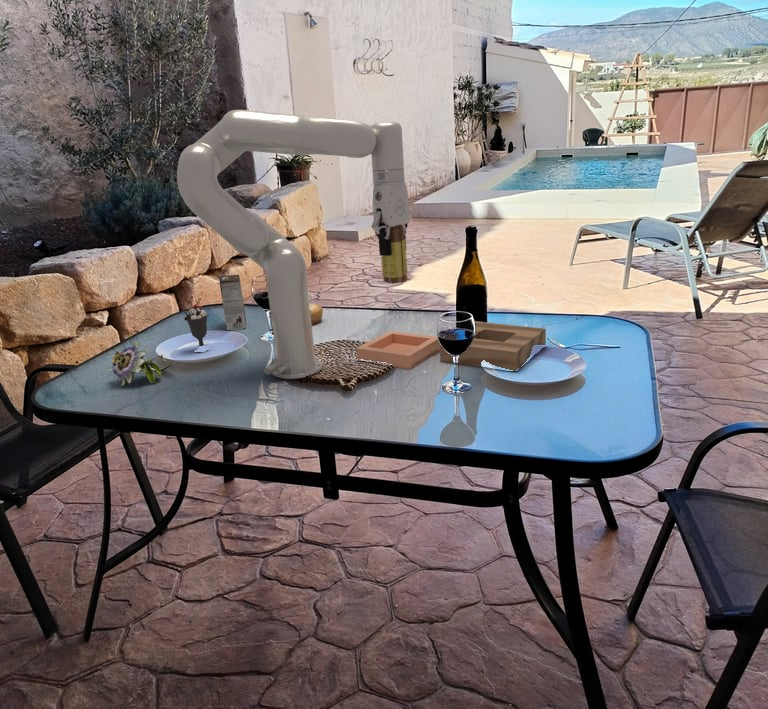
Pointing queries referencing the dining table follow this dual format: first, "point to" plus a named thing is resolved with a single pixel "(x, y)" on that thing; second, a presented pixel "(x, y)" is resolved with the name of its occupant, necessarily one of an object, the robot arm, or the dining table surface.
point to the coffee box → (232, 302)
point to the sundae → (197, 322)
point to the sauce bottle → (395, 257)
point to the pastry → (315, 313)
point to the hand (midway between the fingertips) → (393, 252)
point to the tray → (399, 349)
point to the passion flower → (133, 365)
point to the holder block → (499, 345)
